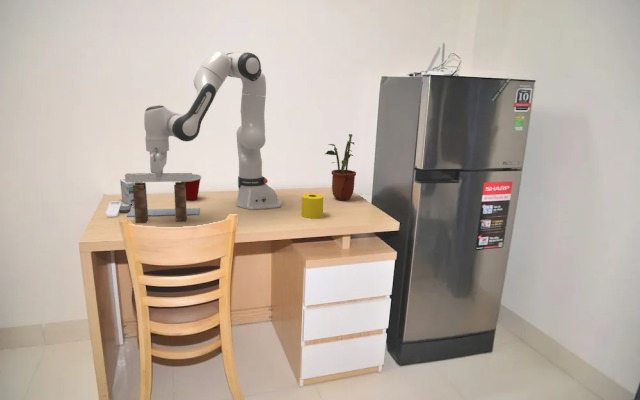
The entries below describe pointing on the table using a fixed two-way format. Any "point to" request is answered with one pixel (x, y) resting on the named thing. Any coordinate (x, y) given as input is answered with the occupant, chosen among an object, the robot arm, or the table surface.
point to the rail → (152, 177)
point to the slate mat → (165, 212)
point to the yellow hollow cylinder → (312, 205)
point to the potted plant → (343, 175)
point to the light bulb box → (127, 191)
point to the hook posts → (141, 202)
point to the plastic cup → (192, 188)
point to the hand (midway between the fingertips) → (159, 179)
